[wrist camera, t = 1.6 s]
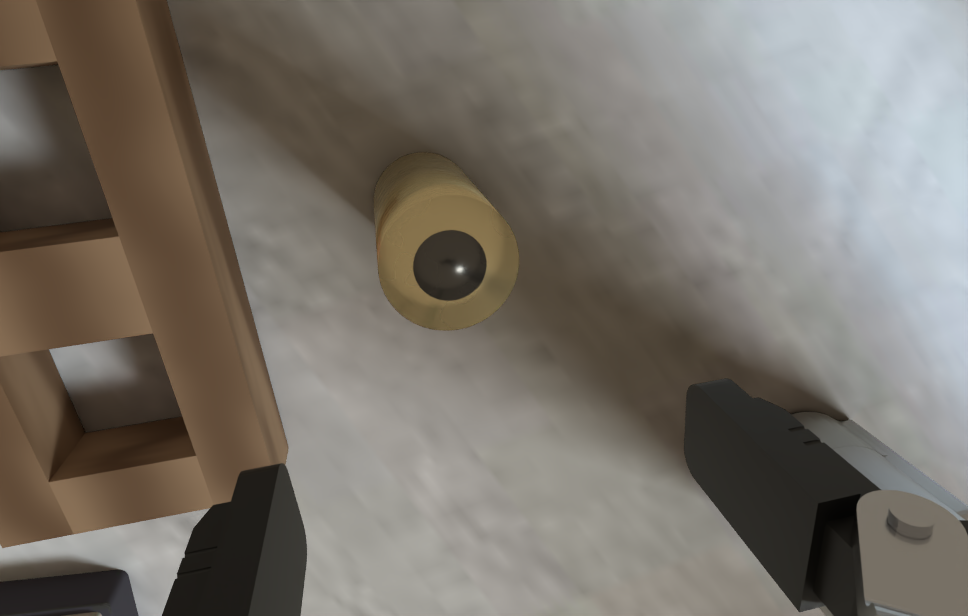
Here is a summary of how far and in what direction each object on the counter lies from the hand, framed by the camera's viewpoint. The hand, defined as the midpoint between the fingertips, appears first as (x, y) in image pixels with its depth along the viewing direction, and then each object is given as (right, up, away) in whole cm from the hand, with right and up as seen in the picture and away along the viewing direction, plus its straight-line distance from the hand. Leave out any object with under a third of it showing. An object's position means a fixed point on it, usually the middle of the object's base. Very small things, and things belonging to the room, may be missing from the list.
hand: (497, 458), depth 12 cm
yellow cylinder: (-3, +8, +18) cm, 20 cm away
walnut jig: (-19, +5, +16) cm, 25 cm away
